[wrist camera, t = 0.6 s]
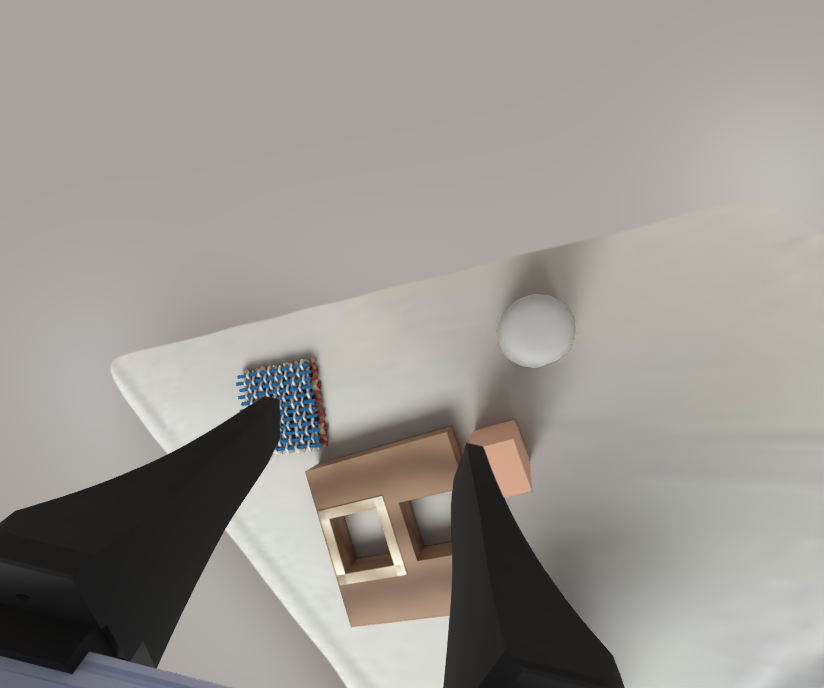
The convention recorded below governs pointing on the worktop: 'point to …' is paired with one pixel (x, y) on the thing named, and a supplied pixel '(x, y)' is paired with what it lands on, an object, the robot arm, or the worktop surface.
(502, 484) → the pin
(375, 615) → the wooden peg board
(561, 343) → the salt shaker
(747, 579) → the worktop surface
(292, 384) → the woven mat
